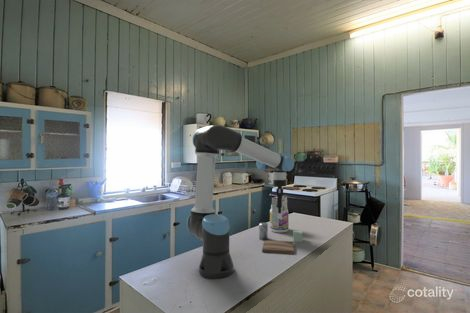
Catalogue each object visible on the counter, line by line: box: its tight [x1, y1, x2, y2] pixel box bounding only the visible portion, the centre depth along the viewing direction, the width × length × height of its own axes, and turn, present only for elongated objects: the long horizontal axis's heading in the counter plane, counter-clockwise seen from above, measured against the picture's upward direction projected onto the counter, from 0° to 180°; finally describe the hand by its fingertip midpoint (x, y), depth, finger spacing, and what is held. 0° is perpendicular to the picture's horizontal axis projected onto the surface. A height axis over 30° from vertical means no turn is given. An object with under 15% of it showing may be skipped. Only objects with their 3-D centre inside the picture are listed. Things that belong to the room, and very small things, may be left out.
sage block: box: [292, 230, 303, 243], centre depth 149 cm, size 5×5×5 cm
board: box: [261, 239, 295, 255], centre depth 137 cm, size 14×16×2 cm
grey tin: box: [258, 222, 269, 241], centre depth 153 cm, size 5×5×9 cm
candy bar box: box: [271, 194, 289, 227], centre depth 151 cm, size 11×5×16 cm, turn 143°
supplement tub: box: [269, 204, 290, 234], centre depth 169 cm, size 12×12×17 cm
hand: (279, 216), depth 151 cm, fingers closed on candy bar box, 12 cm apart
